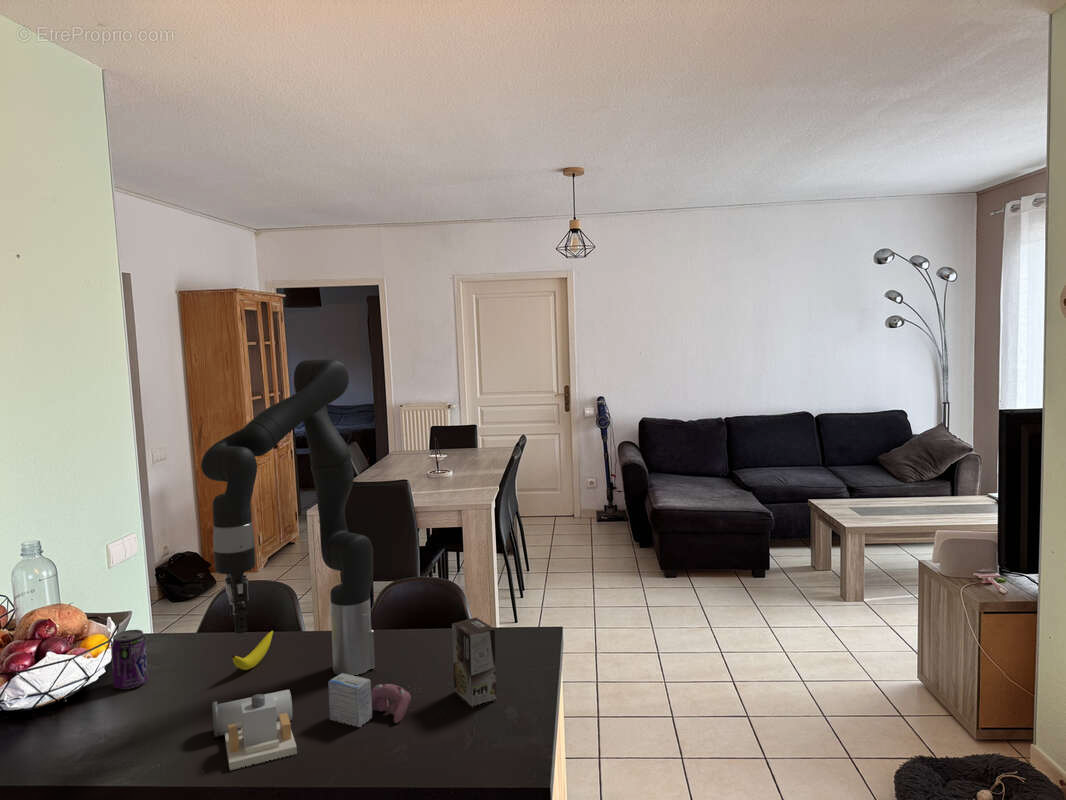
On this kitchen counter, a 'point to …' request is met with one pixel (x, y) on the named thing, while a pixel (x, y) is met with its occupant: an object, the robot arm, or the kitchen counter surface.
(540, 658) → the kitchen counter surface
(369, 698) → the medicine box
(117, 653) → the beverage can
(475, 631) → the coffee box
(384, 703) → the video game controller
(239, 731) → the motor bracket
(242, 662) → the banana
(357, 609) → the robot arm
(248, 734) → the grey box with knob
